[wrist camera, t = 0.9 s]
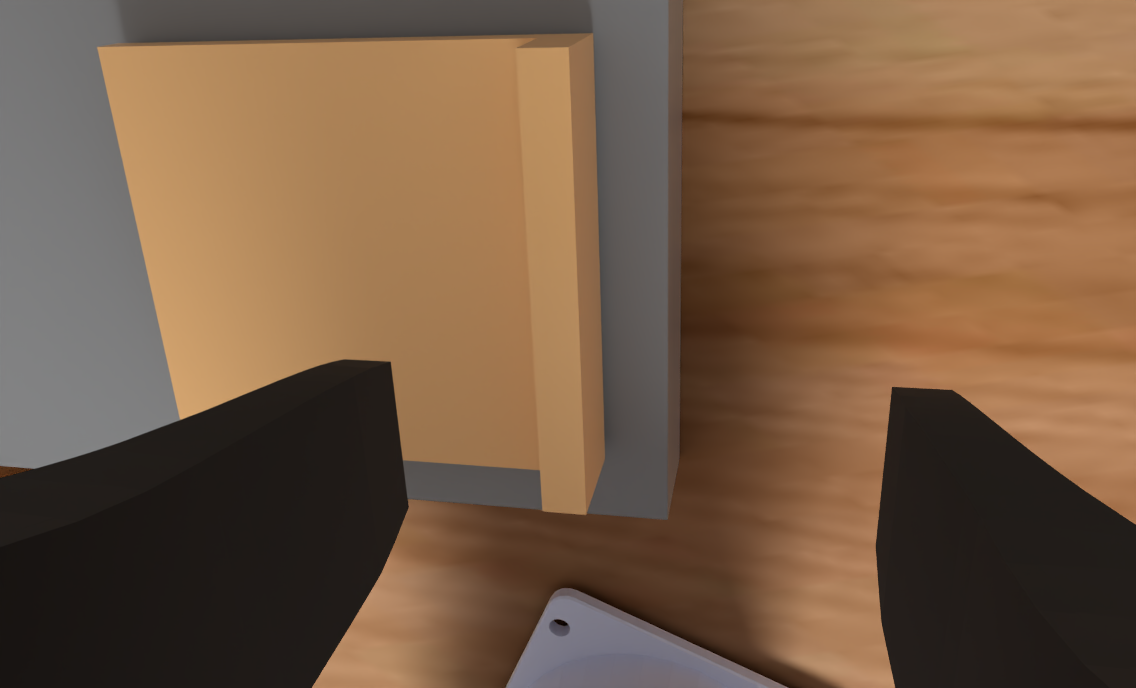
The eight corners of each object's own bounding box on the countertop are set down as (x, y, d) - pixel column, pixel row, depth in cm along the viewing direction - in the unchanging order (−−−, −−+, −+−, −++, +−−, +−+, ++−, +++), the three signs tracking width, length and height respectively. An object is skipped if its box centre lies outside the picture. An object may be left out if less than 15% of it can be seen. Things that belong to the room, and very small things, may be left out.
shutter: (593, 33, 16) (568, 47, 14) (605, 458, 19) (586, 514, 17) (118, 43, 18) (42, 56, 16) (201, 431, 21) (146, 479, 19)
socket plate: (683, -71, 17) (668, -70, 15) (679, 458, 22) (667, 519, 20) (-179, -34, 21) (-292, -30, 19) (-37, 409, 26) (-115, 456, 23)
